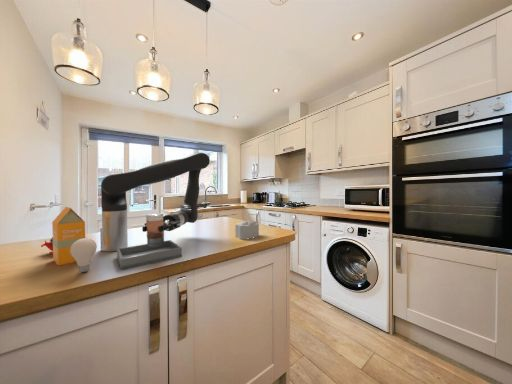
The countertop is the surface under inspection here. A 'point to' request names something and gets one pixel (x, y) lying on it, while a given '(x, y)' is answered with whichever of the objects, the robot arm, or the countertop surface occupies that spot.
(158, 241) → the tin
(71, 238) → the orange juice
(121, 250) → the tote
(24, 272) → the countertop surface
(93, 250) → the light bulb
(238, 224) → the grey rough block
